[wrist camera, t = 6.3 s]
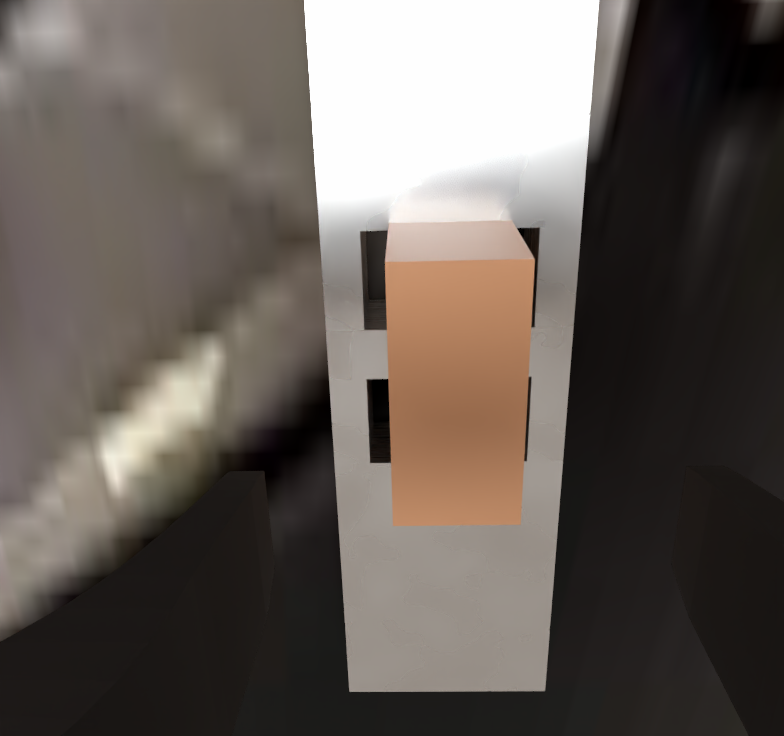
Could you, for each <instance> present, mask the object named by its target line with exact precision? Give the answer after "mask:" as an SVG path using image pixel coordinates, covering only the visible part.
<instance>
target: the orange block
mask: <svg viewBox="0 0 784 736" xmlns="http://www.w3.org/2000/svg"><path fill="white" fill-rule="evenodd" d="M534 267H535V258H534V257H533V255H532V253H531V252H530V250H529V248H528V246H527V245H526V243H525V241H524V240H523V238H522V236H521V235H520V233H519V231H518V230H517V228H516V226H515V225H514V223H513V221H512V220H508V221H462V222H416V223H389V225H388V236H387V246H386V256H385V282H386V315H387V348H388V380H389V413H390V446H391V479H392V512H393V526H446V525H521V510H522V491H523V473H524V454H525V435H526V416H527V398H528V379H529V360H530V341H531V323H532V304H533V285H534Z"/></svg>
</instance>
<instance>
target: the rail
mask: <svg viewBox="0 0 784 736" xmlns="http://www.w3.org/2000/svg"><path fill="white" fill-rule="evenodd" d="M304 3H305V19H306V34H307V49H308V64H309V80H310V95H311V110H312V126H313V141H314V156H315V171H316V187H317V202H318V217H319V233H320V248H321V263H322V278H323V294H324V309H325V324H326V340H327V355H328V370H329V385H330V401H331V416H332V431H333V446H334V462H335V477H336V492H337V508H338V523H339V538H340V553H341V569H342V584H343V599H344V615H345V630H346V645H347V660H348V676H349V691H350V692H416V691H545V684H546V671H547V658H548V646H549V633H550V620H551V607H552V595H553V582H554V569H555V556H556V544H557V531H558V518H559V505H560V493H561V480H562V467H563V454H564V442H565V429H566V416H567V403H568V391H569V378H570V365H571V352H572V340H573V327H574V314H575V302H576V289H577V276H578V263H579V251H580V238H581V225H582V212H583V200H584V187H585V174H586V161H587V149H588V136H589V123H590V110H591V98H592V85H593V72H594V59H595V47H596V34H597V21H598V8H599V0H304ZM508 220H512V221H513V223H514V225H515V226H516V228H524V241H525V243H526V245H527V246H528V248H529V250H530V252H531V253H532V255H533V257H534V258H535V267H534V285H533V304H532V323H531V341H530V360H529V379H528V398H527V416H526V435H525V454H524V473H523V491H522V510H521V525H446V526H393V512H392V479H391V446H390V421H380V422H374V417H373V392H372V379H388V348H387V315H386V299H378V300H369V291H368V266H367V241H366V231H388V225H389V223H416V222H462V221H508Z"/></svg>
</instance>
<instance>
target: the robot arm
mask: <svg viewBox="0 0 784 736" xmlns="http://www.w3.org/2000/svg"><path fill="white" fill-rule="evenodd" d="M671 565H672V568H673V571H674V574H675V577H676V580H677V583H678V587H679V590H680V593H681V596H682V598H683V601H684V604H685V607H686V610H687V612H688V615H689V618H690V620H691V622H692V624H693V626H694V628H695V630H696V632H697V634H698V636H699V638H700V640H701V642H702V644H703V646H704V648H705V650H706V652H707V654H708V656H709V658H710V660H711V662H712V664H713V666H714V668H715V670H716V672H717V674H718V676H719V678H720V680H721V682H722V684H723V686H724V688H725V690H726V692H727V694H728V696H729V698H730V700H731V702H732V704H733V705H734V707H735V709H736V711H737V713H738V715H739V717H740V719H741V721H742V723H743V725H744V727H745V729H746V731H747V733H748V735H749V736H784V502H783V501H782V500H780V499H779V498H777V497H775V496H774V495H772V494H771V493H769V492H767V491H766V490H764V489H763V488H761V487H759V486H758V485H756V484H755V483H753V482H751V481H750V480H748V479H746V478H745V477H743V476H741V475H740V474H738V473H736V472H734V471H732V470H731V469H729V468H727V467H725V466H687V468H686V474H685V480H684V487H683V493H682V500H681V506H680V512H679V519H678V525H677V531H676V538H675V544H674V551H673V557H672V563H671ZM274 570H275V564H274V555H273V546H272V537H271V528H270V519H269V510H268V501H267V492H266V483H265V474H264V471H229V472H228V473H227V474H226V475H225V476H223V477H222V478H221V479H220V480H219V481H218V482H217V483H216V484H215V485H214V486H213V487H212V488H211V489H210V490H208V491H207V492H206V493H205V494H204V495H203V496H202V497H201V498H200V499H199V500H198V501H197V502H196V503H195V504H194V505H193V506H191V507H190V508H189V509H188V510H187V511H186V512H185V513H184V514H183V515H182V516H180V517H179V518H178V519H177V520H176V521H175V522H174V523H173V524H172V525H171V526H169V527H168V528H167V529H166V530H165V531H164V532H163V533H162V534H160V535H159V536H158V537H157V538H155V539H154V540H153V541H152V542H150V543H149V544H148V545H147V546H146V547H144V548H143V549H142V550H141V551H139V552H138V553H137V554H136V555H134V556H133V557H132V558H131V559H130V560H128V561H127V562H126V563H125V564H123V565H122V566H121V567H120V568H118V569H117V570H116V571H114V572H113V573H112V574H110V575H109V576H107V577H106V578H105V579H103V580H102V581H100V582H99V583H98V584H96V585H95V586H93V587H92V588H90V589H89V590H87V591H86V592H84V593H83V594H81V595H80V596H78V597H77V598H75V599H74V600H72V601H71V602H69V603H67V604H66V605H64V606H63V607H61V608H59V609H58V610H56V611H54V612H52V613H51V614H49V615H47V616H45V617H44V618H42V619H40V620H38V621H37V622H35V623H33V624H31V625H30V626H28V627H26V628H24V629H23V630H21V631H19V632H17V633H16V634H14V635H12V636H10V637H9V638H7V639H5V640H3V641H1V642H0V736H232V733H233V730H234V726H235V723H236V720H237V717H238V713H239V710H240V707H241V703H242V700H243V697H244V693H245V690H246V687H247V683H248V680H249V677H250V674H251V670H252V667H253V664H254V660H255V657H256V654H257V650H258V647H259V643H260V640H261V637H262V633H263V630H264V626H265V623H266V619H267V613H268V607H269V602H270V596H271V589H272V583H273V576H274Z"/></svg>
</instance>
